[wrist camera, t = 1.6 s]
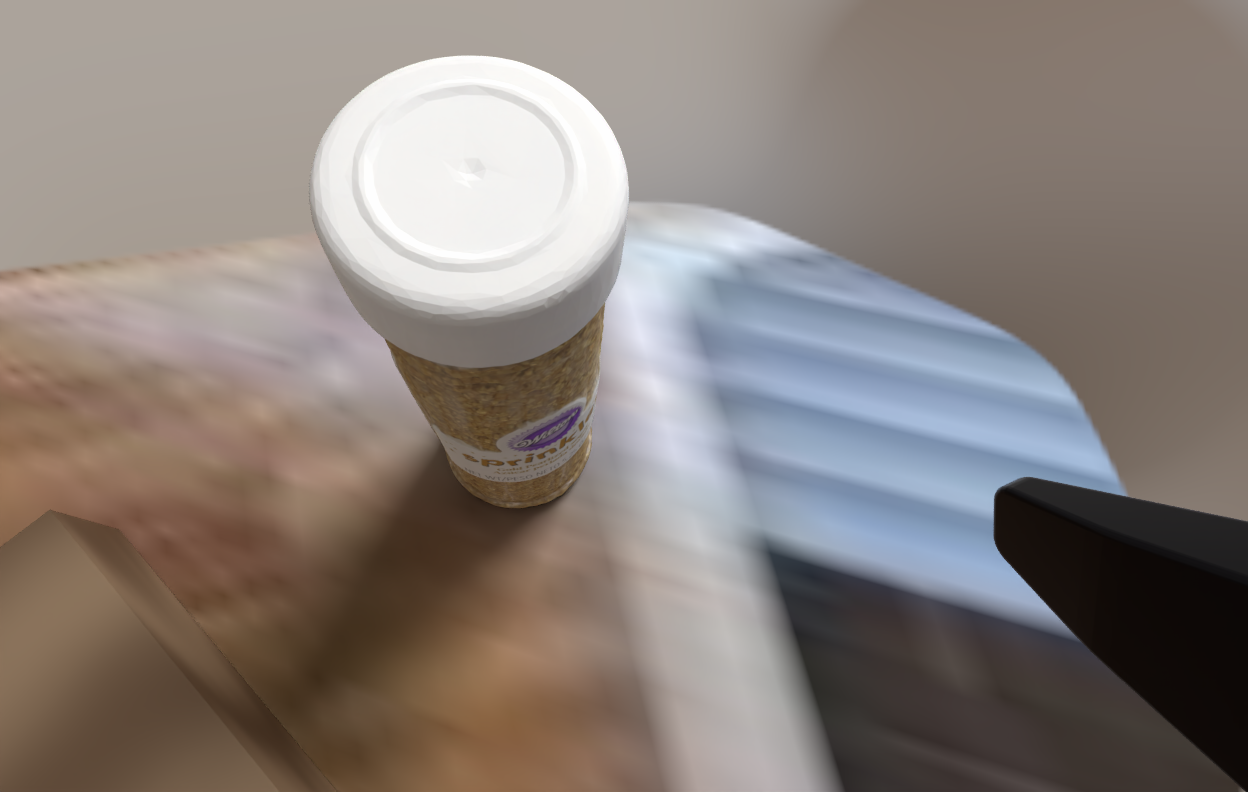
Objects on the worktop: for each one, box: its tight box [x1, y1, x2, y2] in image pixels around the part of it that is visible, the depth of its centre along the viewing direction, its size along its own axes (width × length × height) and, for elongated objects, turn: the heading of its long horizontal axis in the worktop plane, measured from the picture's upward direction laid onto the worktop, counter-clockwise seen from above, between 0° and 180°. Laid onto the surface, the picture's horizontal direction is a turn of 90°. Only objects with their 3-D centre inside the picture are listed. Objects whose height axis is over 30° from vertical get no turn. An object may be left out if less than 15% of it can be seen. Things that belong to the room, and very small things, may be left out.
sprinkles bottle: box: [309, 56, 629, 508], centre depth 16 cm, size 5×5×13 cm
